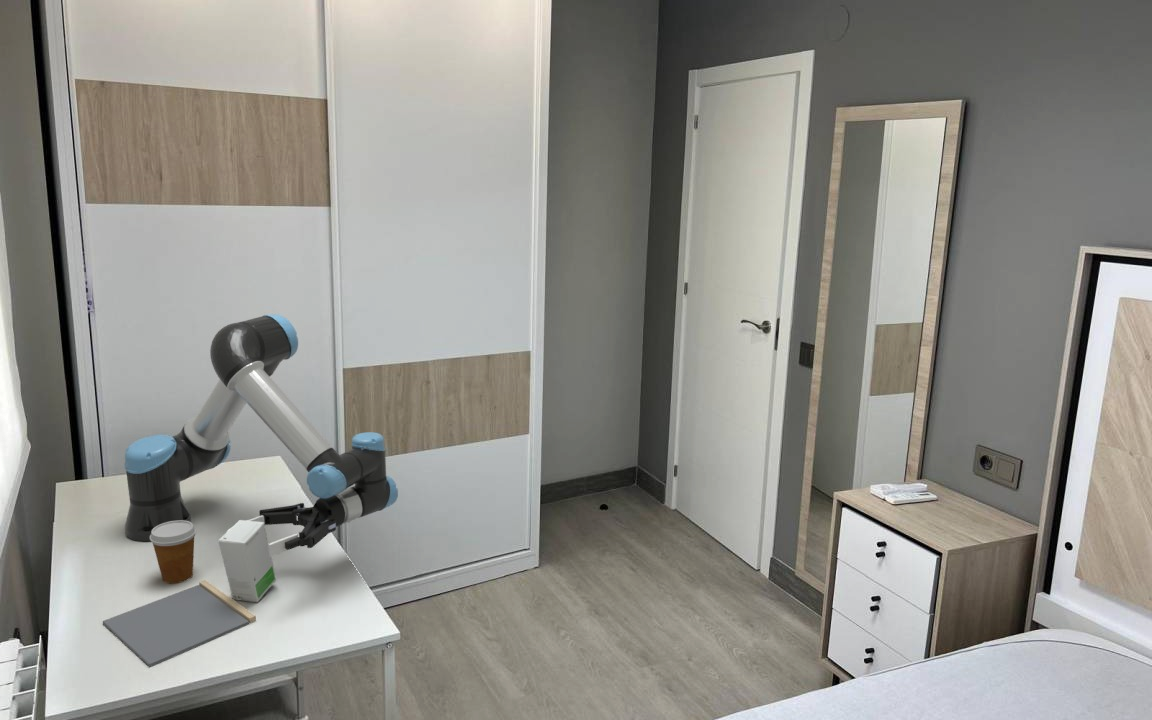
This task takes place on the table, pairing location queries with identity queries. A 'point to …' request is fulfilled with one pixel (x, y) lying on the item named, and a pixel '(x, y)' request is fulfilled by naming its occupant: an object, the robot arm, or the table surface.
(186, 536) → the disposable coffee cup
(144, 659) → the rubber mat
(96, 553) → the table surface
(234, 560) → the skincare box
